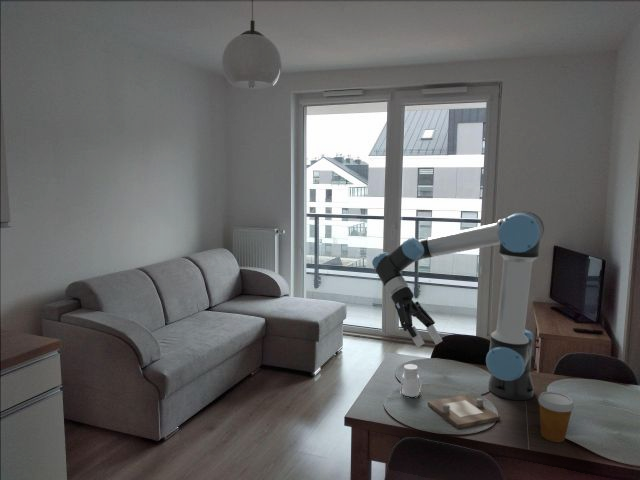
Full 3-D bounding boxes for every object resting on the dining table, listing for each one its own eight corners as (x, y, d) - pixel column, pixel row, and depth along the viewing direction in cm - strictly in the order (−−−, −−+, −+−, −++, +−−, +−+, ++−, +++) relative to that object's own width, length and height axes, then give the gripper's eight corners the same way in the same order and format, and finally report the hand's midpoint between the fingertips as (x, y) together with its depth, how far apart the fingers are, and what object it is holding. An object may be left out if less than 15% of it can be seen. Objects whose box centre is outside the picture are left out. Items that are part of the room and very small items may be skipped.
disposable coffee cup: (569, 449, 135) (573, 408, 133) (532, 438, 140) (536, 399, 138) (572, 434, 143) (575, 396, 141) (537, 424, 148) (540, 388, 146)
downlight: (417, 388, 172) (418, 361, 170) (425, 397, 165) (425, 369, 163) (396, 390, 170) (396, 363, 169) (403, 399, 163) (403, 371, 162)
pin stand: (467, 397, 165) (467, 389, 165) (499, 419, 150) (500, 410, 150) (427, 404, 159) (428, 395, 159) (457, 428, 145) (458, 418, 144)
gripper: (408, 297, 183) (438, 346, 174) (373, 297, 164) (404, 352, 155) (423, 286, 180) (454, 336, 171) (389, 284, 161) (421, 340, 151)
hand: (430, 344), depth 163 cm, fingers open, 13 cm apart
